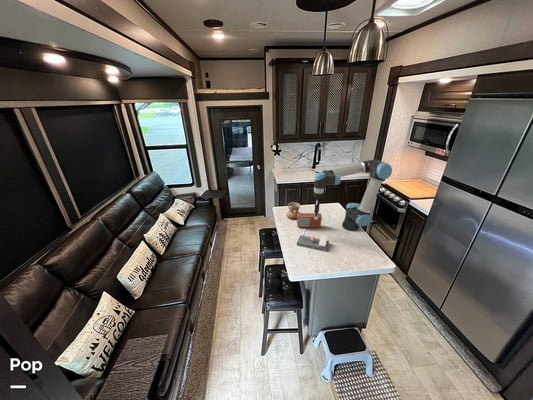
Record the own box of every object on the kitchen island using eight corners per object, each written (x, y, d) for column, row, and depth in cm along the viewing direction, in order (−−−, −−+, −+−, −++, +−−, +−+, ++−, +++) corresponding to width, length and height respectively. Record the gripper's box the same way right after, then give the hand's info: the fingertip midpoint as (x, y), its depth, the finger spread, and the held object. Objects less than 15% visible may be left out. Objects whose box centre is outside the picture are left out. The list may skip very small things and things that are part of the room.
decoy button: (315, 239, 176) (316, 237, 176) (315, 241, 173) (315, 239, 172) (311, 238, 178) (311, 236, 177) (310, 240, 174) (310, 238, 174)
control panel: (319, 224, 206) (321, 211, 198) (320, 229, 200) (322, 216, 192) (296, 223, 208) (297, 211, 200) (297, 228, 202) (297, 216, 194)
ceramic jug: (285, 213, 230) (286, 201, 225) (299, 213, 230) (299, 201, 224) (287, 221, 214) (287, 208, 208) (301, 221, 213) (302, 208, 208)
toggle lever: (304, 238, 179) (306, 229, 179) (304, 238, 177) (305, 229, 177) (302, 238, 180) (303, 228, 180) (301, 238, 178) (303, 228, 178)
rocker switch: (327, 236, 175) (327, 235, 175) (325, 247, 168) (325, 246, 167) (321, 235, 177) (321, 234, 176) (318, 245, 169) (318, 244, 169)
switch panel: (328, 243, 178) (329, 239, 176) (326, 251, 168) (327, 247, 166) (300, 237, 186) (300, 233, 185) (296, 245, 176) (296, 240, 175)
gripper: (315, 189, 176) (312, 215, 185) (312, 194, 165) (309, 221, 174) (324, 190, 174) (321, 216, 183) (322, 195, 163) (319, 223, 172)
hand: (315, 219), depth 178 cm, fingers closed
